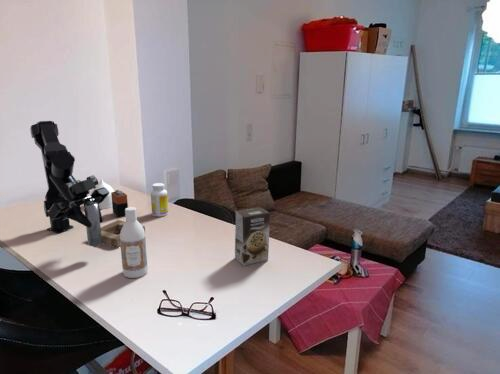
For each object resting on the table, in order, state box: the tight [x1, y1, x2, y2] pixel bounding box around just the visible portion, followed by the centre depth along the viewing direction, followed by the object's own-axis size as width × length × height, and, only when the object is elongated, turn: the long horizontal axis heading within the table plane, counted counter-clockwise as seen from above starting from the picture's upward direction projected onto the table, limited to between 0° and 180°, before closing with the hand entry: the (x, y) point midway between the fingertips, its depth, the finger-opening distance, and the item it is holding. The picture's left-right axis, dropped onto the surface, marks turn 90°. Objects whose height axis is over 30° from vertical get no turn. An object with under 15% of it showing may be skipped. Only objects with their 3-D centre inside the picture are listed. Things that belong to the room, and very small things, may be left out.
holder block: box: [100, 219, 146, 249], centre depth 134 cm, size 13×13×3 cm
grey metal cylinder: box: [83, 202, 102, 247], centre depth 115 cm, size 4×4×13 cm
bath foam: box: [119, 206, 148, 279], centre depth 107 cm, size 7×7×20 cm
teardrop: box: [89, 178, 115, 210], centre depth 164 cm, size 11×11×12 cm
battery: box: [111, 189, 129, 218], centre depth 154 cm, size 4×7×10 cm, turn 38°
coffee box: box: [234, 206, 271, 267], centre depth 117 cm, size 9×6×16 cm
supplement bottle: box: [150, 182, 169, 218], centre depth 154 cm, size 7×7×13 cm
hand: (96, 224), depth 115 cm, fingers closed on grey metal cylinder, 4 cm apart
